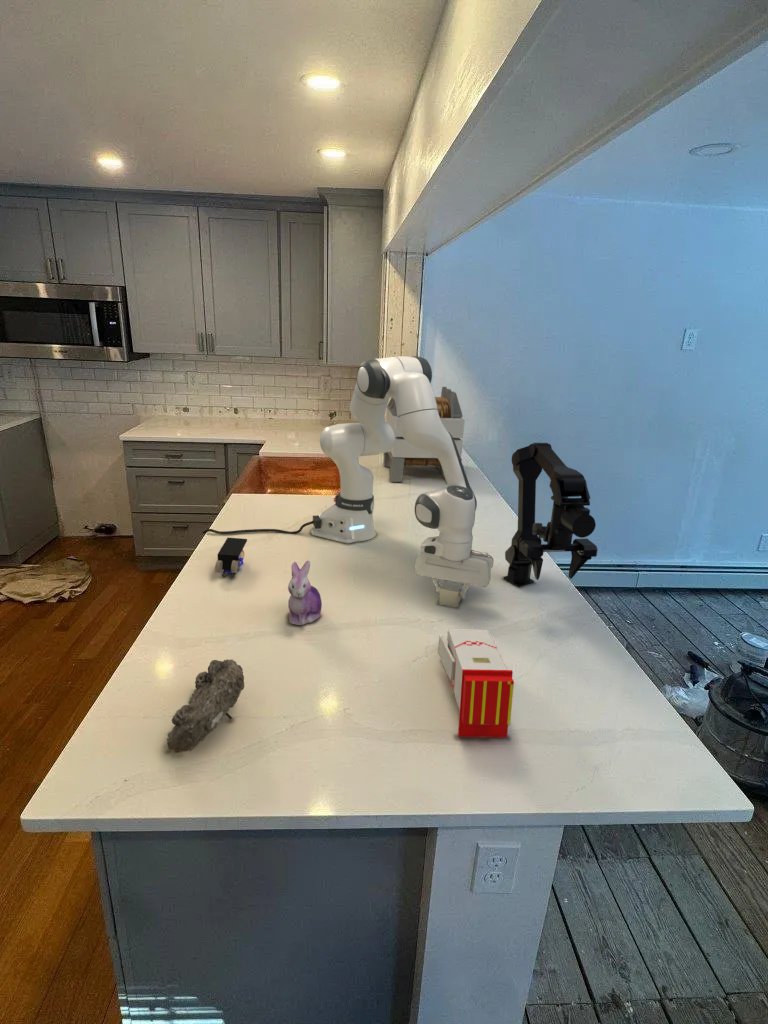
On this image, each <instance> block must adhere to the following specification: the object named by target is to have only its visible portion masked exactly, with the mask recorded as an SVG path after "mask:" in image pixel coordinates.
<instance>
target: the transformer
mask: <svg viewBox="0 0 768 1024" xmlns="http://www.w3.org/2000/svg"><path fill="white" fill-rule="evenodd" d="M440 393H441V394H440V396H435V400H436V404H437V408H438V413H439V417H440V419H441V422H442V424H443V426H444V427H445V429H446V430H447V431H448V432H449V433H450V434H451V435H452V437H453V439H454V441H455V444H456V446H457V449H458V452H459V455H460V458H461V461H463V460H462V453H463V442H464V441H463V440H462V439H463V438H464V431H465V430H464V429H465V419H464V418H463V411H462V408H461V405H460V402H459V398H458V395H457V392H455V391H453V390H452V389H451V388H447V386H442V387H441V392H440ZM385 422H386V423H387V424H389V425H390V426H391V427H392V429H393V431H394V434H395V443H394V446H393V448H392V449H391V451H389V452H386V453H383V466H384V467H388V468H389V475H388V476H389V477H388V478H389V480H390V482H391V483H402V482H403V475H404V469H405V466H406V467H407V466H411V467H412V466H413V467H415V466H416V467H417V466H418V467H436V468H437V470H438V469H439V473H440V474H441V475H443V478H444V479H445V480H446V478H445V475H444V472H443V469H442V466H441V463H440V461H439V459H438V458H437V457H436V456H435V455H434V454H432V453H431V452H429V451H426V450H424V449H420V448H417V447H415V446H413V445H411V444H409V443H408V442H407V441H406V440H405V439H404V438H403V436H402V434H401V431H400V428H399V423H398V417H397V411H396V404H395V401H394V399H393V398H392V397H390V399H389V401H388V404H387V408H386V411H385Z"/></svg>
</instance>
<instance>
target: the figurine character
mask: <svg viewBox="0 0 768 1024" xmlns="http://www.w3.org/2000/svg"><path fill="white" fill-rule="evenodd" d="M247 542H248V538H240V537H226V539H225V541H224V543H223V544H222V546H221V547H220V549H219V551H218V552H217V560H216V562H215V564H214V572H215V573H221V577H222V578H224V577H225V576H226V574H227V573H230V574H231V573H232V574H231V578H234V577H235V575H236V573H237V572H239V571H240V567H242V566H243V565H244V564H245V562H244V558H245V551H244V547H245V546H246V544H247Z"/></svg>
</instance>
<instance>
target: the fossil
mask: <svg viewBox="0 0 768 1024" xmlns="http://www.w3.org/2000/svg"><path fill="white" fill-rule="evenodd" d="M243 670H244V669H243V667H242V665H240V664H237V662H236V661H235V660H234V659H232V658H231V659H227V658H226V659H224V660H223V661H222V660H217V659H212V660H211V661H210V663H209V665H208V666H207V671H201V672H199V673H198V674H197V675H196V676H195V680H194V684H195V685H194V687H195V689H194V690H193V693H192V694H191V697H190V698H189V700H188V704H184V705H182V706H181V707H180V709H177V710H176V711H175V713H174V715H173V716H172V718H171V723H172V724H173V727H172V730H171V731H170V732H168V734H167V738H166V741H167V742H166V745H167V749H168V750H169V751H173V752H174V753H176V754H178V753H182V752H188V751H189V752H192V751H193V750H195V748H196V747H197V746H199V744H200V743H201V742H203V741H204V740H205V739H206V738H207V737H208V736H209V735H210V734H211V733H212V732H214V730H215V729H217V727H218V726H219V724H220V722H221V721H222V720H223V719H224V718H225V716H226V717H227V719H229V720H233V717H232V715H230V714H229V710H230V709H231V708H234V706H235V704H236V703H237V702H238V699H239V697H240V695H241V693H242V691H243V690H245V689H244V688H245V675H244V671H243Z"/></svg>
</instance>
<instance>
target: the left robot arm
mask: <svg viewBox="0 0 768 1024" xmlns="http://www.w3.org/2000/svg"><path fill="white" fill-rule="evenodd" d="M432 379H433V372H432V367H431V364H430V363H429V361H428V360H427V359H426V358H425V357H421V356H418V355H411V356H409V355H408V356H407V355H406V356H405V355H402V356H401V355H396V356H395V355H394V356H393V355H392V356H390V357H382V358H381V357H380V358H371V359H367V360H365V361H363V362H361V363H360V365H358V368H357V371H356V383H355V386H354V390H353V393H352V396H351V400H350V404H349V410H350V411H349V412H350V414H351V416H352V418H353V419H355V420H356V421H357V422H349V423H337V424H332V425H329V426H326V427H324V428H323V430H322V431H321V433H320V436H319V446H320V448H321V450H322V452H323V453H324V454H325V455H326V456H327V457H328V458H330V459H331V460H332V462H334V464H335V465H336V467H337V470H338V473H339V483H340V484H339V485H340V488H339V489H340V490H339V491H338V492H337V494H336V495H335V496H334V497H333V502H334V504H333V505H331V506H329V507H328V508H326V509H325V510H323V512H321V514H320V515H312V520H311V521H307V522H306V523H305V522H304V523H303V524H302V525H301V526H300V527H299V529H298V530H294V531H288V530H283V529H278V528H253V529H238V530H226V531H225V530H224V531H220V530H216V529H213V528H207V529H205V530H203V531H202V534H206V533H209V532H211V533H214V534H218V535H231V534H241V533H243V534H244V533H263V532H268V533H270V532H273V533H281V534H287V535H288V534H289V535H296V534H300V533H301V532H302V531H303V529H304V528H305V527H308V526H310V525H313V526H312V528H311V530H310V533H311V536H315V537H319V538H323V539H326V540H330V541H336V542H339V543H343V544H352V543H357V542H365V541H368V540H372V539H373V538H375V537H376V535H377V532H376V528H375V523H374V513H373V512H374V509H375V496H374V474H373V472H372V471H371V469H369V468H367V467H366V466H364V465H362V464H360V462H359V458H360V457H368V456H369V457H370V456H379V455H382V454H383V455H384V453H386V452H389V451H391V449H392V448H393V446H394V443H395V434H394V431H393V429H392V427H391V426H390V425H389V424H387V423H386V418H385V417H386V412H387V405H388V403H389V401H390V399H391V398H393V399H394V401H395V404H396V411H397V417H398V423H399V428H400V431H401V434H402V436H403V438H404V439H405V440H406V441H407V442H408V443H409V444H411V445H413V446H415V447H417V448H420V449H424V450H426V451H429V452H431V453H432V454H434V455H435V456H436V457H437V458H438V459H439V461H440V463H441V466H442V469H443V472H444V474H443V475H445V478H446V479H445V478H444V479H445V481H446V484H447V487H445V488H444V489H439V490H437V489H436V490H433V491H427V492H423V493H421V494H420V495H419V496H417V497H416V500H415V503H414V515H415V518H416V520H417V522H418V523H419V524H421V525H422V526H423V527H425V528H428V529H432V530H437V531H438V532H439V534H438V535H437V536H430V537H426V538H425V539H424V541H422V543H421V545H420V549H419V550H420V551H419V553H418V554H417V556H416V560H415V566H414V572H415V573H416V574H417V576H422V577H428V578H432V582H433V584H434V586H435V588H436V590H435V593H438V594H440V588H441V586H442V584H441V583H440V580H444V581H450V582H455V583H461V584H463V587H464V588H462V589H461V590H460V592H459V597H461V598H463V599H464V598H465V597H466V593H467V591H468V590H469V589H470V587H471V586H475V587H481V588H486V587H488V586H489V585H490V583H491V580H492V579H491V577H492V568H493V567H494V558H493V556H492V555H490V554H489V553H488V552H485V551H483V552H482V551H478V550H474V549H473V550H472V548H473V541H474V540H473V539H474V536H473V529H474V526H475V522H476V511H477V507H478V502H477V497H476V494H475V493H474V491H473V489H472V486H471V485H470V483H469V482H470V481H469V480H468V477H467V474H466V471H465V468H464V464H463V462H462V461H463V460H462V461H461V458H462V457H461V458H460V455H459V452H458V449H457V446H456V444H455V441H454V439H453V437H452V435H451V434H450V433H449V432H448V431H447V430H446V429H445V427H444V426H443V424H442V422H441V419H440V417H439V413H438V408H437V404H436V400H435V397H436V395H435V393H434V389H433V387H432V385H431V383H432Z"/></svg>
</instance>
